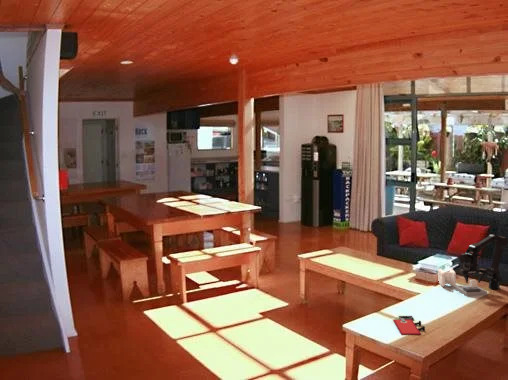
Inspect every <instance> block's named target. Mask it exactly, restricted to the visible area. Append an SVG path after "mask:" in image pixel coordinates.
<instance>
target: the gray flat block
mask: <svg viewBox="0 0 508 380" xmlns="http://www.w3.org/2000/svg"><path fill="white" fill-rule="evenodd" d="M478 287H479V286H478ZM478 287H463V290H464V291H465V292H480V290H481V289H482V288H481V289H479V288H478Z"/></svg>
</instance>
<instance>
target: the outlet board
mask: <svg viewBox="0 0 508 380" xmlns="http://www.w3.org/2000/svg"><path fill="white" fill-rule="evenodd" d="M463 287H469V284H467V285H465V284H464V285H463V284H462V285H456V286H454V287H453V288H454V290H455V291H456V292H458V291H459V292H458V293H460V294H462V295H463V294H464V295H463V296H466V297H472V296H475V297H476V296H477V297H478V296H488V291H487V290H485V289H483V288H482V287H480V286H478V285H477V287H478V288H479V289H481V290H480V292H465V291H464V290H463Z"/></svg>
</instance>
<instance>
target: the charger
mask: <svg viewBox="0 0 508 380" xmlns="http://www.w3.org/2000/svg"><path fill="white" fill-rule="evenodd" d="M468 285H469V287H477V286H478V280H476V279H468Z"/></svg>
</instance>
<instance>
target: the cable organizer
mask: <svg viewBox="0 0 508 380" xmlns="http://www.w3.org/2000/svg"><path fill="white" fill-rule="evenodd" d="M437 270H438V272H437V273H438V275H437V277H438V279H437V281H439V282H438V284H439V285H440V287H443V288H444V287H445V286H446V285H450V286H452V287H453V288H454V286H457V284H456V282H457V280H456V278H457V273H456V271H455V270H454V269H453V268H449V271H444V270H443V269H442V268H438V269H437Z"/></svg>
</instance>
